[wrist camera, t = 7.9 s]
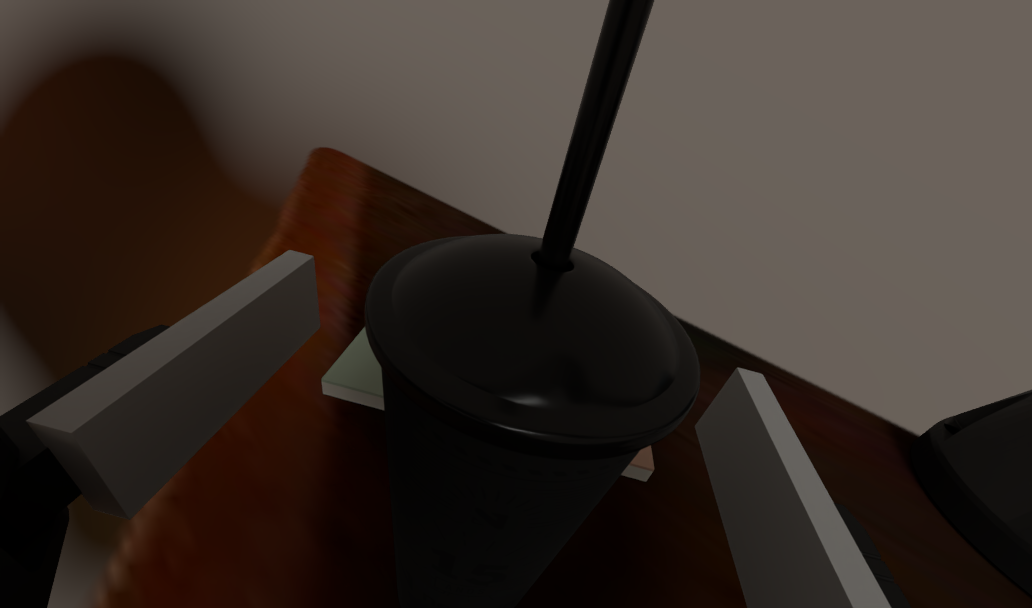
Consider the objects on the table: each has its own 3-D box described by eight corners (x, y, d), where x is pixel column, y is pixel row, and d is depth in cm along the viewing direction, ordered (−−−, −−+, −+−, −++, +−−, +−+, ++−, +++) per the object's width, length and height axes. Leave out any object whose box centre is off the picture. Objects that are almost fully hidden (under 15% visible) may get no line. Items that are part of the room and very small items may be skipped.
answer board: (628, 348, 32) (633, 337, 31) (646, 481, 22) (654, 469, 21) (405, 289, 32) (406, 277, 32) (322, 393, 22) (321, 378, 22)
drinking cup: (377, 487, 19) (412, -66, 8) (531, 491, 20) (721, 33, 10) (333, 716, 12) (242, -444, 2) (563, 694, 14) (1190, 7, 4)
